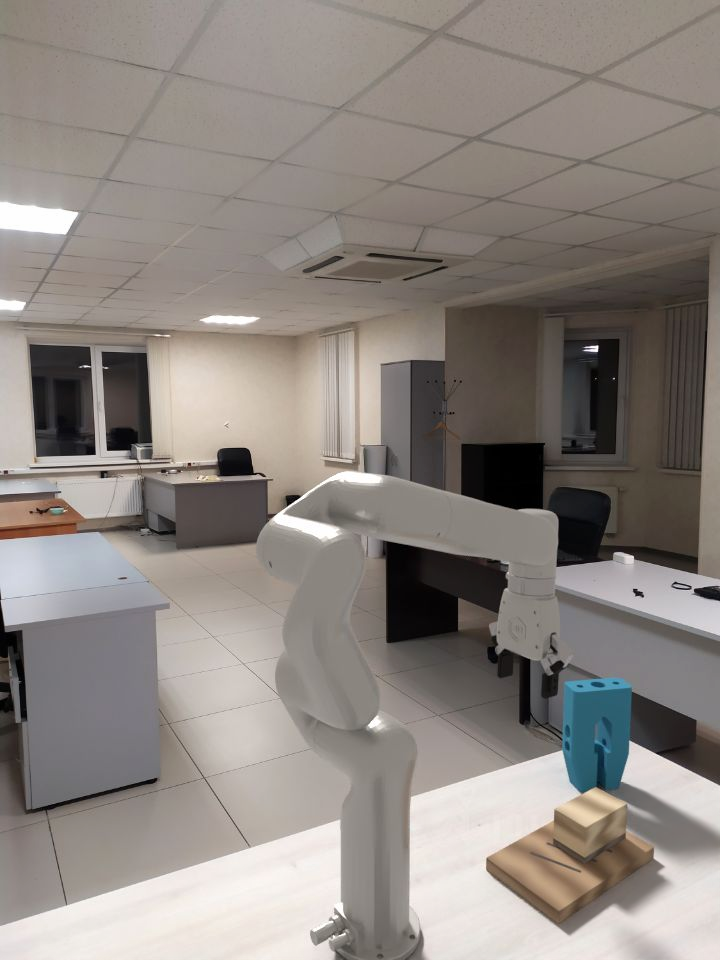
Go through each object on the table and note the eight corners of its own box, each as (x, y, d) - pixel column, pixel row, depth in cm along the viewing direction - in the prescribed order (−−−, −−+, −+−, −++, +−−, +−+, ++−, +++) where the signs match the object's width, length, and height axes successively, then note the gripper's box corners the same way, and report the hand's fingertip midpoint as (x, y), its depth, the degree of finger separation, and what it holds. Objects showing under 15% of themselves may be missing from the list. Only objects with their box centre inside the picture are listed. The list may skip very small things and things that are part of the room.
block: (614, 773, 135) (619, 677, 133) (629, 787, 130) (634, 687, 128) (559, 779, 133) (562, 681, 131) (572, 794, 128) (575, 692, 126)
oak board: (558, 924, 96) (559, 910, 96) (486, 869, 107) (486, 857, 107) (653, 858, 110) (654, 846, 110) (580, 816, 121) (580, 805, 121)
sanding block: (584, 863, 106) (585, 827, 105) (553, 843, 110) (554, 808, 110) (625, 837, 112) (627, 803, 111) (594, 820, 117) (595, 787, 116)
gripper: (477, 576, 116) (473, 673, 118) (557, 600, 102) (552, 710, 103) (508, 571, 120) (504, 665, 122) (590, 594, 106) (584, 700, 108)
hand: (526, 686), depth 113 cm, fingers open, 9 cm apart
